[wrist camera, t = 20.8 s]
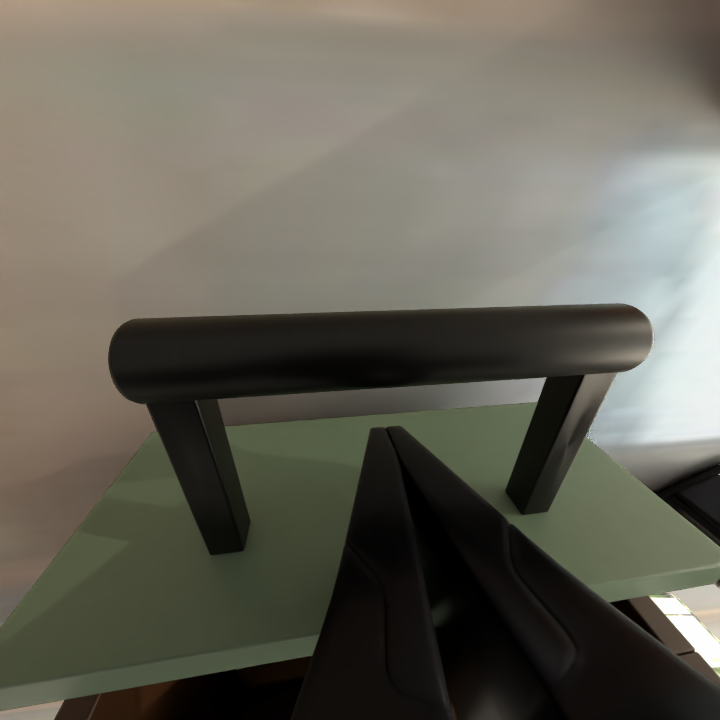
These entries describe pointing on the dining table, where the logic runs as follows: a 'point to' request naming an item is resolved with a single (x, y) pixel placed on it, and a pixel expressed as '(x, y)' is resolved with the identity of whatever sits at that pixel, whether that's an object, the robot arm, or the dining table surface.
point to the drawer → (327, 487)
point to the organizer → (297, 685)
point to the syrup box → (690, 628)
